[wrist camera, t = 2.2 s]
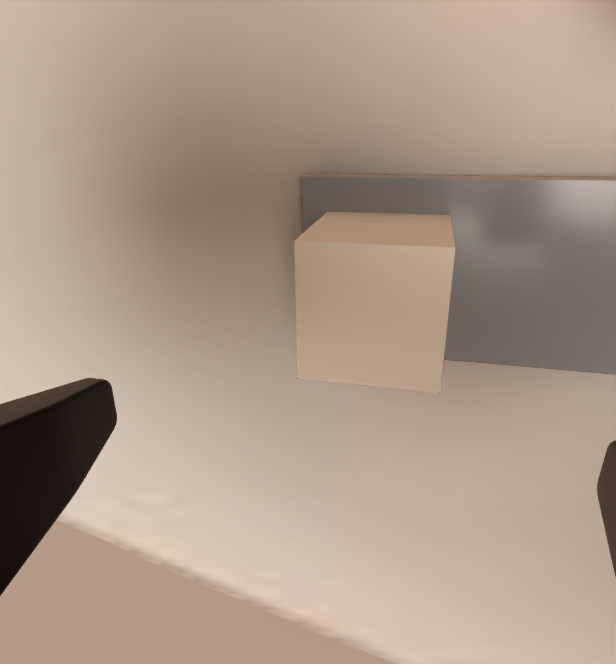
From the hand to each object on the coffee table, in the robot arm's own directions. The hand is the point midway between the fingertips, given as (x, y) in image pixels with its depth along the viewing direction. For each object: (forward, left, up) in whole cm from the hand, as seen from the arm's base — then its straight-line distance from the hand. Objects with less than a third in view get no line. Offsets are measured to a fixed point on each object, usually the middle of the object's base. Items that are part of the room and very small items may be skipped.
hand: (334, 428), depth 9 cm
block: (0, 0, -11) cm, 11 cm away
